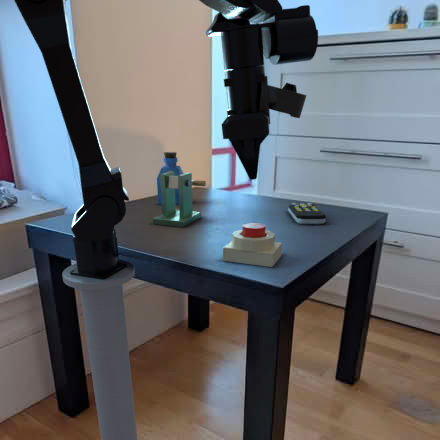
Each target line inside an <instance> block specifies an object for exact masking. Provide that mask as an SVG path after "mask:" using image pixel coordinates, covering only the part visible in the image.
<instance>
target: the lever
mask: <svg viewBox="0 0 440 440" xmlns="http://www.w3.org/2000/svg"><path fill="white" fill-rule="evenodd" d="M206 186H207V181H206V180H200V179H199V180H197V179H192V187H206ZM169 188H175V189H179V187H178V176H169Z"/></svg>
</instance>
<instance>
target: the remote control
mask: <svg viewBox="0 0 440 440" xmlns="http://www.w3.org/2000/svg"><path fill="white" fill-rule="evenodd" d="M287 207H288V209H287V211H288V213H289V214H290V215H291V217H292V218H293V220H294V221H295V222H296V223H297V224H299V225H323V224H325V223H326V222H327V216H326V214H325V213H323V212H322V211H321V210H320V209H319V208H318V207H317V206H316V205H315V204H313V203H312V202H308V203H301V202H300V203H295V202H292V203H290V204H288V206H287Z"/></svg>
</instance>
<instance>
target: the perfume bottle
mask: <svg viewBox="0 0 440 440" xmlns="http://www.w3.org/2000/svg"><path fill="white" fill-rule="evenodd" d="M177 154H178V153H177V152H176V151H166V152H163V155H164V157H163V163H164V165H163V166H162V167H161V168H160V170H159V173H158V174H157V177H156V188H157V189H156V190H157V191H156V193H157V205H162V198H161V179H160V174H163V173H166V172H170V171H172V172H174V176H178V175H181V174H184V171H183V169H182V167H181V165H178V164H177V163H178V162H179V161H178V157H177ZM175 203H176V205H179V189H175Z"/></svg>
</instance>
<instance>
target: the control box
mask: <svg viewBox="0 0 440 440" xmlns="http://www.w3.org/2000/svg"><path fill="white" fill-rule="evenodd" d="M282 252H283V242H279V241H276V234H275V233H274V232H273V231H272V230H268V229H265V237H261V238H249V237H244V236H242V229H237V230H235V231H234V232H232V234H231V241H229V242H228V243H227V244H226V245H224V246H223V247H222V261H223V262H229V263H237V264H245V265H251V266H260V267H266V268H273V267H274V266H275V265H276V264H277V262H278V261H279V260H280V258H281V257H282V254H283V253H282Z"/></svg>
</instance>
